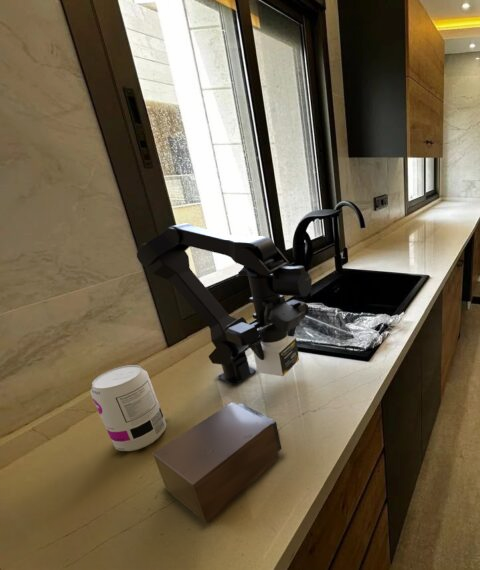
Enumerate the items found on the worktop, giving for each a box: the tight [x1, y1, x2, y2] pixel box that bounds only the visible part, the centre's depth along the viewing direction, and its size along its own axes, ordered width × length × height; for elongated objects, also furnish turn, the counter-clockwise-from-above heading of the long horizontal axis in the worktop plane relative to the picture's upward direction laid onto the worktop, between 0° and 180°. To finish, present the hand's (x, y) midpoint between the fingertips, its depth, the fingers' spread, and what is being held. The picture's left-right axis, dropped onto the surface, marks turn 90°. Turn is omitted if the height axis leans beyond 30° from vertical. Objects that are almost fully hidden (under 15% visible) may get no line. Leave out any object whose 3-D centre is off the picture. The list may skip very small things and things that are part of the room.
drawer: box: [237, 402, 282, 452], centre depth 59 cm, size 14×10×7 cm
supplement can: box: [90, 364, 167, 452], centre depth 64 cm, size 8×8×15 cm
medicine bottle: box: [253, 324, 300, 377], centre depth 80 cm, size 7×7×12 cm
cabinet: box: [151, 401, 280, 524], centre depth 57 cm, size 14×12×9 cm
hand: (276, 351), depth 80 cm, fingers closed on medicine bottle, 8 cm apart
